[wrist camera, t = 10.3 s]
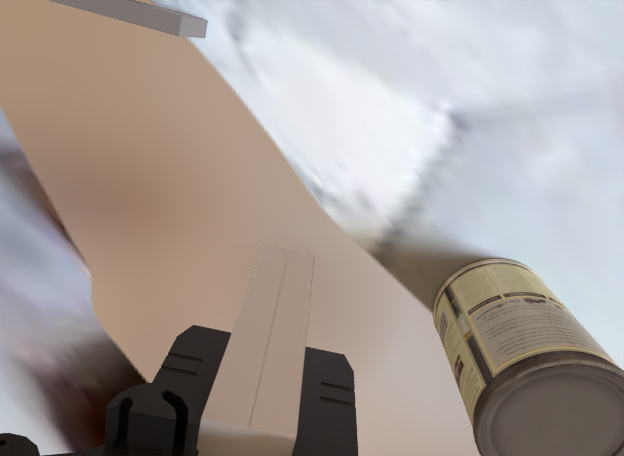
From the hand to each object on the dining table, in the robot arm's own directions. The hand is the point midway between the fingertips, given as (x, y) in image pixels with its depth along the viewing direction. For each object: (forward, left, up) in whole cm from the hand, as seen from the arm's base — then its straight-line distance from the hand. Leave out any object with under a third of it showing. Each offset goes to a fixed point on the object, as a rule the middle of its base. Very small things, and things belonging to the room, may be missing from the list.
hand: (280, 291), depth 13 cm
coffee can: (+19, -11, -25) cm, 33 cm away
